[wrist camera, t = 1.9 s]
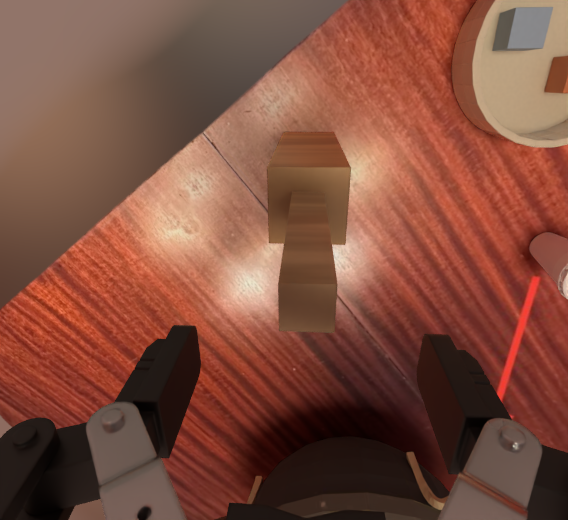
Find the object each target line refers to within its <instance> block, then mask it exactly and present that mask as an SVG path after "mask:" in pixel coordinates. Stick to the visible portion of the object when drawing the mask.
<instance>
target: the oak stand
mask: <svg viewBox="0 0 568 520" xmlns="http://www.w3.org/2000/svg"><path fill="white" fill-rule="evenodd" d="M350 173H351V167H350V165H349V163H348V161H347V159H346V157H345V154H344V152H343V150H342V148H341V146H340V144H339V142H338V140H337V138H336V136H335V133H334V132H284V133H283V135H282V137H281V139H280V141H279V143H278V145H277V147H276V150H275V152H274V154H273V156H272V158H271V160H270V162H269V164H268V166H267V182H268V226H269V243H284V242H285V235H286V229H287V222H288V215H289V208H290V202H291V195H292V192H324V193H325V200H326V207H327V214H328V221H329V228H330V235H331V242H332V244H336V245H345V243H346V229H347V215H348V201H349V187H350Z"/></svg>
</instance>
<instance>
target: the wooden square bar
mask: <svg viewBox="0 0 568 520" xmlns="http://www.w3.org/2000/svg"><path fill="white" fill-rule="evenodd" d="M278 295H279V331H297V332H328V333H334V330H335V315H336V299H337V278H336V271H335V264H334V257H333V250H332V242H331V235H330V228H329V221H328V214H327V207H326V200H325V193H324V192H292V195H291V202H290V208H289V215H288V222H287V229H286V235H285V242H284V249H283V256H282V262H281V269H280V276H279V282H278Z"/></svg>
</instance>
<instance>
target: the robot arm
mask: <svg viewBox="0 0 568 520" xmlns="http://www.w3.org/2000/svg"><path fill="white" fill-rule="evenodd" d="M200 366H201V360H200V352H199V344H198V336H197V329H196V327H195V326H185V325H174V326H173V327H172V328H171V330H170V332H169V334H168V336H167V338H166V339H157V340H156V341H155V342H153V343H152V344H151V345H150V346H149V347H147V348H146V350H145V352H144V353H143V355H142V357H141V358H140V361H139V362H138V363H137V365H136V367H135V370H133V372H132V373H131V375H130V377H129V378H128V380H127V382H126V383H125V385H124V387H123V389H122V390H121V392H120V394H119V395H118V397H117V399H116V400H115V402H114V403H111V404H108V405H106V406H104V407H102V408H100V409H99V410H98V411H96V412H95V413H94V414H93V415H92V416H91V418H90V419H89V421H88V422H86V423H83V424H79V425H74V426H69V427H65V428H60V429H56V427H55V425H54V423H53V422H52V421H51V420H49V419H47V418H33V419H29V420H26V421H24V422H21V423H19V424H17V425H15V426H14V427H12V428H11V429H9V430H8V431H7V432H6V433H5V434H4V435H3V436H2V437H1V438H0V520H68V519H69V517H70V515H71V513H72V511H73V509H74V507H75V505H79V504H82V503H87V502H90V501H94V500H98V499H101V502H102V506H103V510H104V514H105V519H106V520H187V518H186V516H185V513H184V511H183V508H182V506H181V504H180V501H179V499H178V497H177V494H176V492H175V489H174V487H173V485H172V482H171V480H170V478H169V475H168V473H167V470H166V468H165V466H164V463H163V461H162V459H161V458H169V457H170V454H171V451H172V449H173V446H174V443H175V440H176V438H177V435H178V432H179V430H180V427H181V424H182V421H183V419H184V416H185V413H186V410H187V408H188V405H189V402H190V399H191V397H192V394H193V391H194V389H195V386H196V383H197V380H198V377H199V374H200ZM417 382H418V387H419V390H420V393H421V396H422V398H423V401H424V404H425V407H426V410H427V413H428V416H429V418H430V421H431V424H432V427H433V430H434V433H435V436H436V438H437V441H438V444H439V447H440V450H441V453H442V456H443V458H444V461H445V464H446V467H447V470H448V473H449V474H459V475H458V477H457V479H456V481H455V483H454V485H453V487H452V489H451V491H450V494H449V496H448V498H447V500H446V502H445V504H444V506H443V508H442V511H441V513H440V515H439V517H438V519H437V520H568V453H567V452H563V451H560V450H557V449H553V448H550V447H547V446H544V445H542V444H541V443H540V442H539V440H538V438H537V437H536V436H535V435H534V434H533V433H532V432H531V431H530V430H529V429H527V428H526V427H524V426H523V425H521V424H519V423H517V422H515V421H512V419H511V417H510V416H509V414H508V412H507V410H506V409H505V407H504V405H503V404H502V402H501V400H500V399H499V397H498V395H497V393H496V392H495V390H494V388H493V387H492V385H490V382H489V380H488V378H487V376H486V375H484V371H483V370H482V368H481V366H480V365H479V363H478V361H477V360H476V359H475V358H473V357H472V356H471V355H470V354H469V353H468V352H466V351H465V350H457V349H456V347H455V345H454V343H453V342H452V340H451V338H450V336H449V335H442V334H425V335H424V337H423V340H422V345H421V351H420V356H419V361H418V366H417ZM215 520H386V518H385V512H379V511H362V510H341V511H337V512H332V513H328V514H323V515H319V516H314V517H309V518H304V517H301V516H298V515H295V514H292V513H289V512H286V511H283V510H280V509H277V508H274V507H271V506H268V505H259V504H242V503H229V507H228V512H227V516H225V517H221V518H218V519H215Z"/></svg>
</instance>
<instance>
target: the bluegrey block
mask: <svg viewBox="0 0 568 520" xmlns="http://www.w3.org/2000/svg"><path fill="white" fill-rule="evenodd" d="M552 11H553V7H516V8H513V9H510V10H508V11H505V12H502V13H500V15H499V20H498V25H497V30H496V35H495V40H494V45H493V50H492V51H527V50H535V49H542V48H543V46H544V42H545V38H546V34H547V31H548V27H549V23H550V19H551V15H552Z"/></svg>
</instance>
